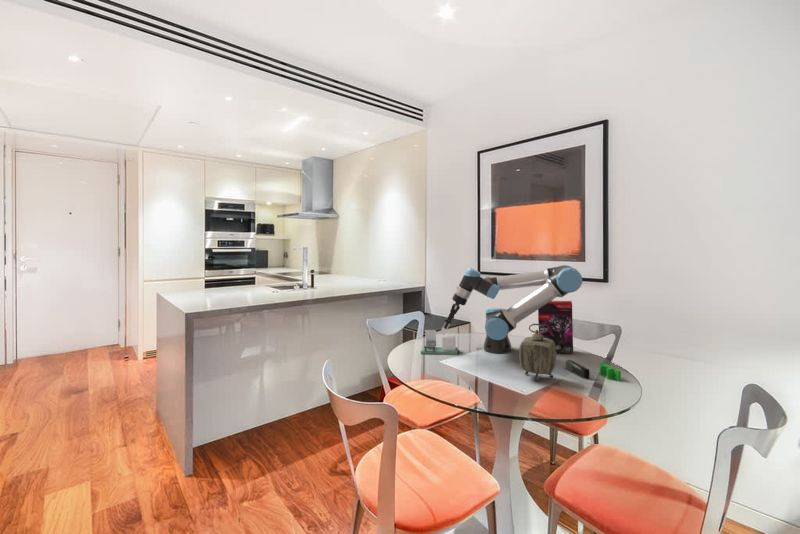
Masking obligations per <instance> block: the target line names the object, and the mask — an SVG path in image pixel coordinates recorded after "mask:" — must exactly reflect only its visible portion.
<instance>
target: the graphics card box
mask: <svg viewBox="0 0 800 534" xmlns="http://www.w3.org/2000/svg"><path fill="white" fill-rule="evenodd" d="M537 314H538V315H537V317H538V320H537V322H538V324H541V325H543V326H544V327H545V331H544V328H543V327H542V326H539V325H538V332H542V331H544V332H543V333H538V334H541V335H542V336H543V338H547V339H551V340H553V341H554V343H555V346H556V354H557V353H559V354H574V329H573V325H574V324H573V301H572V300H552V301H550V302H549V303H547V304H546V305H544V306H543V307H541V308H540V309H538V310H537Z"/></svg>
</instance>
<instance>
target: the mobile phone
mask: <svg viewBox="0 0 800 534" xmlns="http://www.w3.org/2000/svg"><path fill="white" fill-rule="evenodd" d="M563 369H565V370H567V371H569V372H571V373H573V374H574V375H576V376H578V377H579V378H581V379H583V380H589V379H590V373H591V372H590V369H589V368H587V367H586V366H584V365H582V364H580V363H578V362H576V361H575V360H572V359H571V360H570V359H568V360H566V361H565V366H563Z"/></svg>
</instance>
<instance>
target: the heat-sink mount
mask: <svg viewBox="0 0 800 534" xmlns="http://www.w3.org/2000/svg"><path fill="white" fill-rule="evenodd" d="M441 339H442V340H441V342H442V344H441V345H442V346H426V345H423V346H422V348H421V350H420V354H421V355H458V350H459V347H458V346H457V345H456V343H457V340H456V334H445V335H444V334H442V336H441Z"/></svg>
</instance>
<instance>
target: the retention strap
mask: <svg viewBox="0 0 800 534" xmlns="http://www.w3.org/2000/svg"><path fill="white" fill-rule="evenodd" d="M436 331H437V330H436V329H425V330H424V336H425V337H424V338H425V340H424V341H425V346H435V347H437V332H436Z"/></svg>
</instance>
